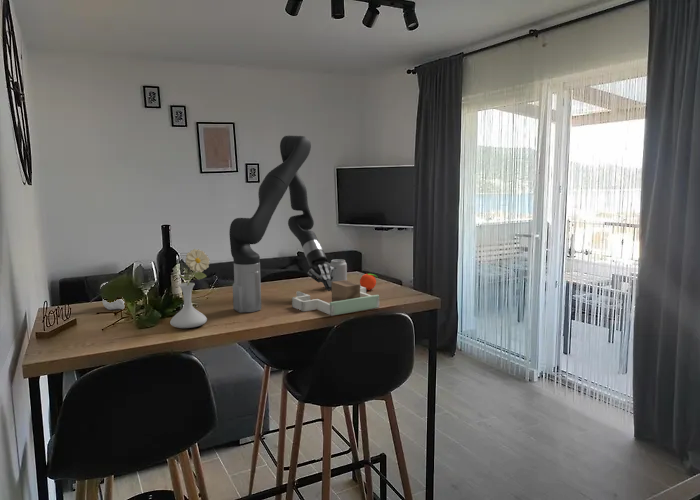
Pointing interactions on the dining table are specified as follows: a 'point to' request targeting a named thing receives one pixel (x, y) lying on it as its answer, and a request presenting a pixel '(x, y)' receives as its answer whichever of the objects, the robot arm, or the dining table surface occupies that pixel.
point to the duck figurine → (113, 303)
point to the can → (339, 270)
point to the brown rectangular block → (345, 290)
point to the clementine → (368, 281)
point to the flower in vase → (188, 313)
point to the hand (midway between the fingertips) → (330, 289)
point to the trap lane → (336, 303)
